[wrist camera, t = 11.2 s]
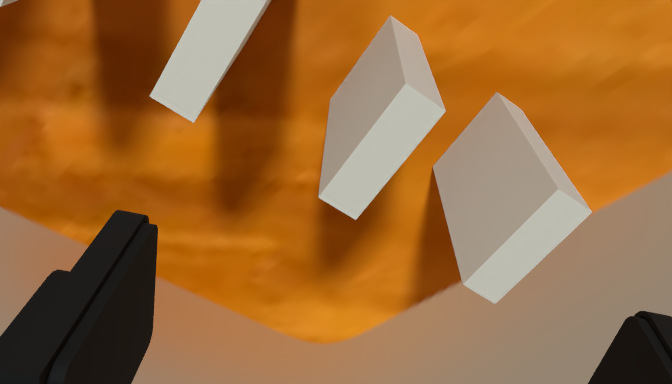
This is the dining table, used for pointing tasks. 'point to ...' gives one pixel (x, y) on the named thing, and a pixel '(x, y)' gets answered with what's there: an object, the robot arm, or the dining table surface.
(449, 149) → the tile
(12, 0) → the tile
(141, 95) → the dining table surface
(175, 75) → the tile
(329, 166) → the tile
